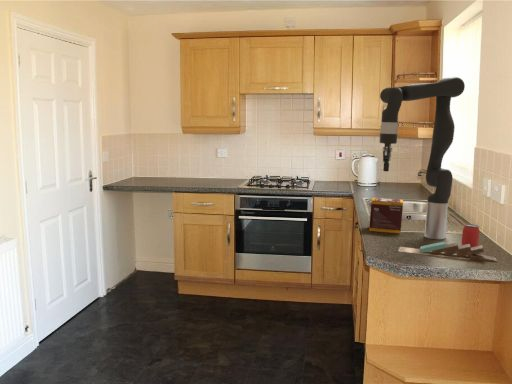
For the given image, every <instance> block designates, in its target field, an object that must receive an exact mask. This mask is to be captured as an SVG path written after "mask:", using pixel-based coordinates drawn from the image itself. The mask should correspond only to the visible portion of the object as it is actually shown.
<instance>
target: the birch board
mask: <svg viewBox="0 0 512 384" xmlns="http://www.w3.org/2000/svg"><path fill="white" fill-rule="evenodd" d="M398 252H399V253H400V252H401V253H411V254H416V255H417V254H418V255H426V256H427V255H428V256H434V257H444V258H452V259H459V260H460V259H461V260H468V261H470V260H471V259H469V256H468V255H467V256H462V257H457V254H452V255H447V256H445V253H444V252H442V253H438V254H433V252H432V251H428V252H423V253H421V251H420V248H414V247H405V246H399V248H398Z"/></svg>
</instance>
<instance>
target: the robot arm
mask: <svg viewBox="0 0 512 384" xmlns="http://www.w3.org/2000/svg"><path fill="white" fill-rule="evenodd" d="M465 86H466V85H465V81H464V80H463V79H462V78H461V77H458V76H450V77H449V76H448V77H443V78H440V79H439V81H437V82H429V83H426V82H425V83H413V84H407V85H402V86H392V87H386V88H383V89H382V90H381V91H380V95H379V97H380V101H382V103H384V104H387V105H386V108H385V109H383V110H382V113H381V123H380V128H379V129H380V130H379V143H380V144H384V146H383V147H382V162H383V172H389V170H390V162H391V158H392V153H393V149H394V147H392V145H395V144H397V142H398V128H399V127H398V125H399V124H398V121H399V113H400V110H401V107H402V103H403V102H410V101H418V100H422V99H429V98H433V97H434V98H435V113H434V123H433V129H432V130H433V131H432V137H431V139H432V140H431V147H430V154H429V159H428V164H427V168H426V172H425V182H426V185H428V186H429V187H431V188H435V191H434V193H431V194H428V196H427V202H426V214H425V223H424V225H425V226H424V238H427V239H431V240H445V239H446V238H447V229H448V216H447V215H448V207H449V199H450V197H451V193H452V188H453V179H454V178H453V173H452V172H451V170H450V169H447V168H442V164H443V163H442V162H443V159H444V156H445V154H446V153H447V151H448V150H449V148H451V145H452V144H453V141H454V137H455V136H454V135H455V123H454V118H453V116H452V113H451V100H452V98H457V97H459V96H461V95H462V94H463V93H464V91H465V88H466V87H465Z"/></svg>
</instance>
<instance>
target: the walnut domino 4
mask: <svg viewBox="0 0 512 384" xmlns="http://www.w3.org/2000/svg"><path fill="white" fill-rule="evenodd" d="M468 256H469V259H470V260H476V261H482V262H483V261H484V262H485V261H486V262H490V263H491V262H492V263H497V262H498V260H497V258H496V257H493V256H490V255H485V254H481V253H476V254H471V255H468Z"/></svg>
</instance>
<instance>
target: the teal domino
mask: <svg viewBox="0 0 512 384" xmlns="http://www.w3.org/2000/svg"><path fill="white" fill-rule="evenodd" d="M446 245H447V243H446V241H439V242H436V243H430V244H426V245H425V244H424V245H422V246H420V248H419V249H420V251H421V253H423V252H428V251H433V250H438V249H442V248H446Z"/></svg>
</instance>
